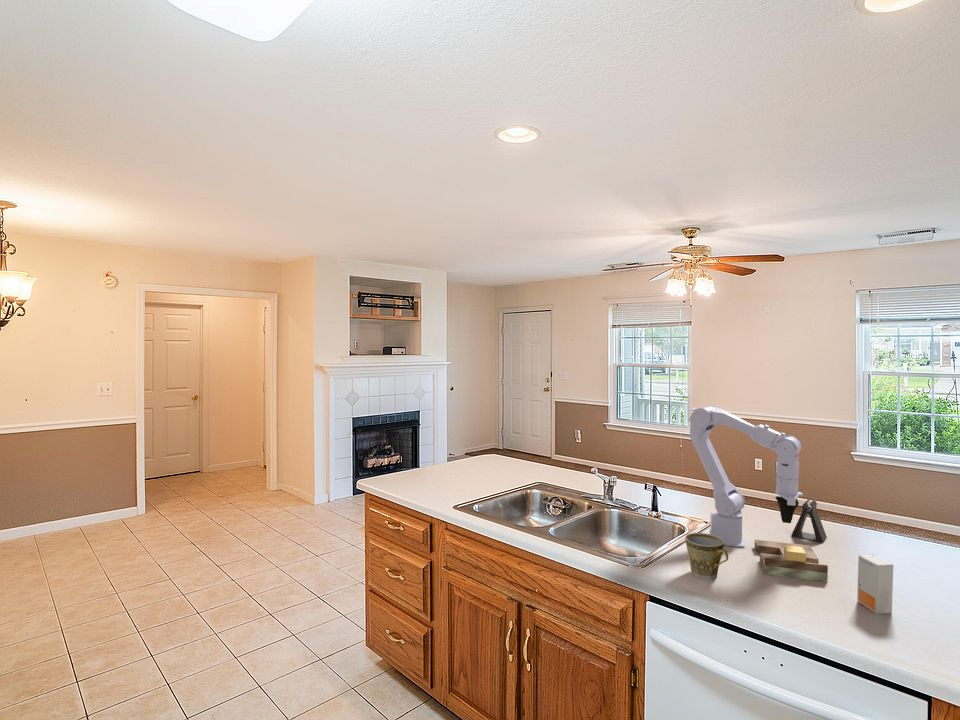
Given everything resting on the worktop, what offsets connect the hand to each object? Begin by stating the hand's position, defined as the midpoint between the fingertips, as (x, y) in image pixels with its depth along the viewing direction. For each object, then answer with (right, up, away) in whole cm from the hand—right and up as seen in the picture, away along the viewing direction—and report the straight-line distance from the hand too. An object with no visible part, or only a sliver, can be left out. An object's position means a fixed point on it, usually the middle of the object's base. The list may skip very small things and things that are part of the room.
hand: (786, 522), depth 160 cm
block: (-4, -9, -11) cm, 15 cm away
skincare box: (+4, -12, -30) cm, 33 cm away
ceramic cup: (-29, -11, -13) cm, 34 cm away
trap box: (-2, -11, -4) cm, 12 cm away
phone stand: (+16, -10, +16) cm, 25 cm away
